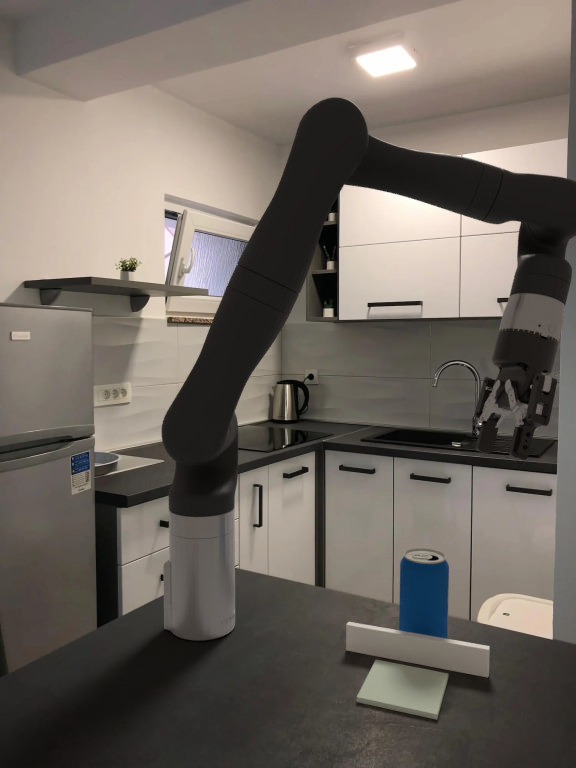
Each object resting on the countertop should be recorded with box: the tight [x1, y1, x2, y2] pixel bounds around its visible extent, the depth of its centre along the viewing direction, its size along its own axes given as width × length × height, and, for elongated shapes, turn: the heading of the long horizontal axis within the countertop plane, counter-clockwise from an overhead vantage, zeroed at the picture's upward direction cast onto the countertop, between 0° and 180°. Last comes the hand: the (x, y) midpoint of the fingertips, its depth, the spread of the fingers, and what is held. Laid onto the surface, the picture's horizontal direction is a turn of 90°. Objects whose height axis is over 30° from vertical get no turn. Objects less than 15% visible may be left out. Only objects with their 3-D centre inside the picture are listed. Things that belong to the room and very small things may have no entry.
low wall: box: [345, 621, 491, 678], centre depth 81 cm, size 18×1×4 cm, turn 68°
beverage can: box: [398, 547, 450, 639], centre depth 86 cm, size 6×6×12 cm
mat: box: [356, 659, 449, 720], centre depth 74 cm, size 9×9×1 cm
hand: (499, 455), depth 81 cm, fingers open, 8 cm apart
